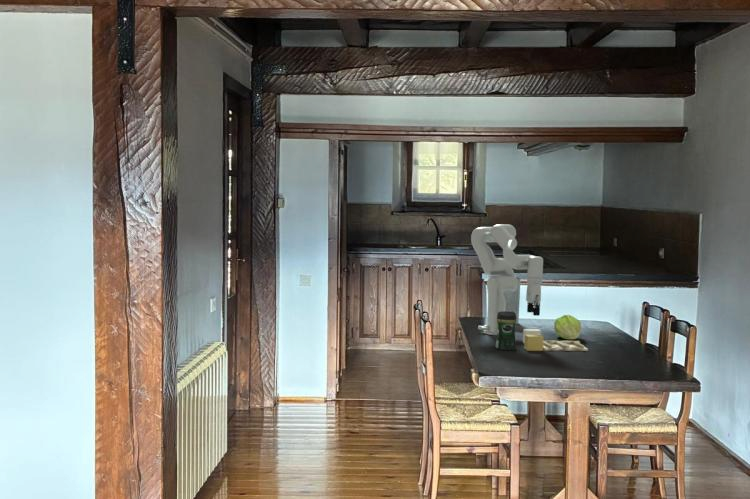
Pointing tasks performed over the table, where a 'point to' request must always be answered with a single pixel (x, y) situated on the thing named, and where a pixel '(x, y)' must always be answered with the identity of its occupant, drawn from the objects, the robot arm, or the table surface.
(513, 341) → the coffee jar
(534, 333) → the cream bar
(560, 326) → the lettuce
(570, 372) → the table surface
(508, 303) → the vase
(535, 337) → the ochre bar
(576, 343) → the slot board
